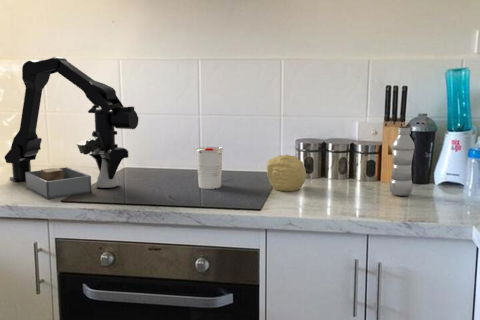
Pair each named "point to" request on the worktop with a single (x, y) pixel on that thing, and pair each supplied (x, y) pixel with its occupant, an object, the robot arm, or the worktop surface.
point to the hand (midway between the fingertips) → (106, 177)
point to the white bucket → (209, 167)
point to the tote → (59, 184)
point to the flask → (105, 177)
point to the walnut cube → (52, 174)
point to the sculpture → (286, 173)
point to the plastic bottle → (402, 162)
